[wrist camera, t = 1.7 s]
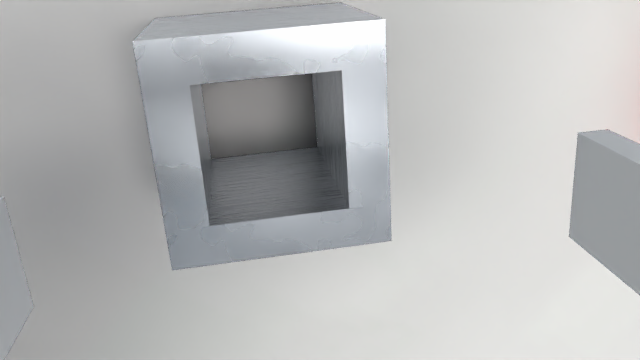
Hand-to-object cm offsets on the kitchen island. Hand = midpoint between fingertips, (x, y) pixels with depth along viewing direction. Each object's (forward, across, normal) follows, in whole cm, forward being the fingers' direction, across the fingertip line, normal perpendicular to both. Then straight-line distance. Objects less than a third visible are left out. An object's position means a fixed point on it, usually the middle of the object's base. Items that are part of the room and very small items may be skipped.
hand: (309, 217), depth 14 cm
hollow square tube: (+12, 0, 0) cm, 13 cm away
